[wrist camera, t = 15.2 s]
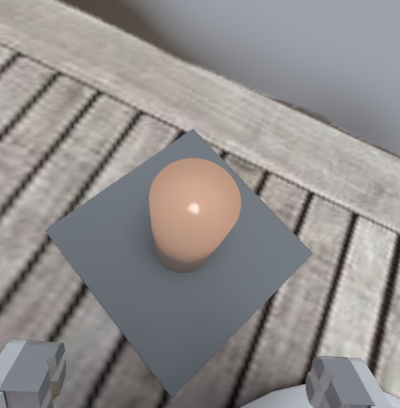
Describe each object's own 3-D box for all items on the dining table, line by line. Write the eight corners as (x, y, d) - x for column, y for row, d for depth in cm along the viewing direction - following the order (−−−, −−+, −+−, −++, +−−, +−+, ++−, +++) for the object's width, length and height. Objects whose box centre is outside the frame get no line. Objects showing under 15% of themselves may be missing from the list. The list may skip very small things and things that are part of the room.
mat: (47, 232, 26) (45, 230, 25) (192, 132, 30) (193, 128, 30) (171, 395, 22) (171, 397, 22) (309, 254, 27) (312, 253, 27)
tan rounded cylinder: (140, 239, 26) (129, 192, 16) (186, 203, 27) (199, 142, 18) (179, 285, 25) (191, 264, 15) (224, 246, 26) (259, 205, 17)
